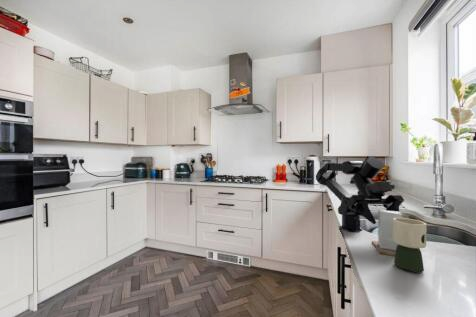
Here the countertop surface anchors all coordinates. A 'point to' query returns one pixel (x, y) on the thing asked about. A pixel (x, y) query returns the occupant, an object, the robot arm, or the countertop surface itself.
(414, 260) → the character mug
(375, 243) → the curved brown sheet
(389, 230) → the skincare box
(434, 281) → the countertop surface
